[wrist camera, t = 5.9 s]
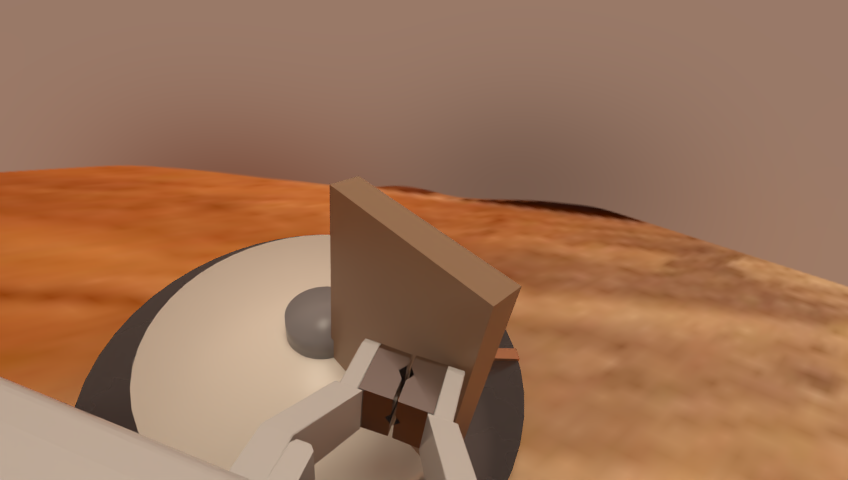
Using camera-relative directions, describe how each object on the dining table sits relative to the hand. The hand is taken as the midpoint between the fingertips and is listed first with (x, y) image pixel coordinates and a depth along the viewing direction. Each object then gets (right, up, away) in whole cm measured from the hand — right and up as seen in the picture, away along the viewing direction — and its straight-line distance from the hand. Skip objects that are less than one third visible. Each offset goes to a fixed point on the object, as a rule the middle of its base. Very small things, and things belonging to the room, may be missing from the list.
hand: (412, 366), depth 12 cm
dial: (-5, -2, +9) cm, 10 cm away
